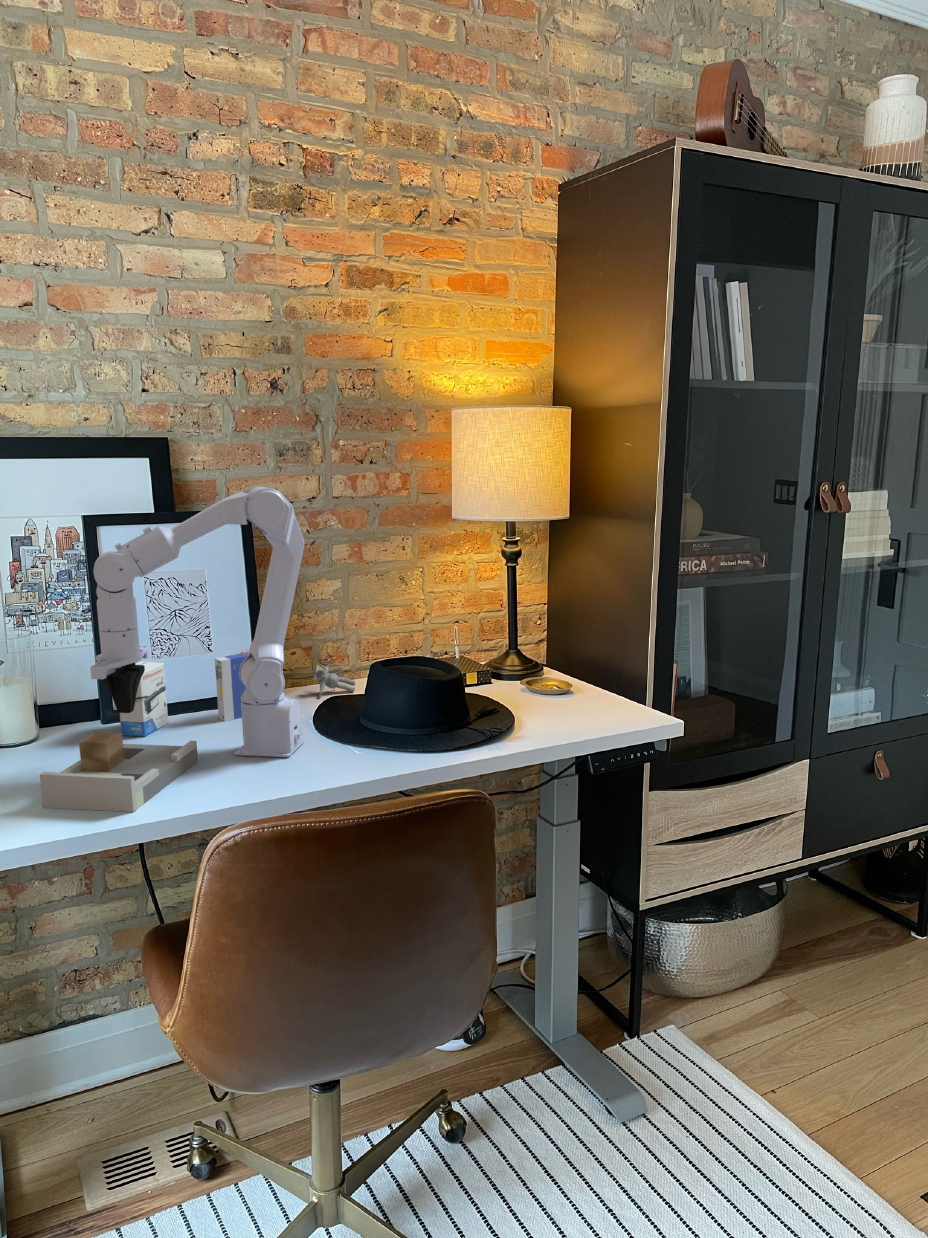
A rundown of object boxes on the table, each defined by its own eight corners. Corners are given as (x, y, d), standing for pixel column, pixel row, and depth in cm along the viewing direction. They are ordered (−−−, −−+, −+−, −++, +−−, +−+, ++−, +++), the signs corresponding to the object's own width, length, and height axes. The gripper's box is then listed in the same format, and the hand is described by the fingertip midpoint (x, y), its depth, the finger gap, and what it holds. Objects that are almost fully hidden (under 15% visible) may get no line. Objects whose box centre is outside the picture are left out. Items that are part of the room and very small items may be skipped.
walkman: (253, 709, 179) (250, 649, 177) (261, 712, 177) (257, 652, 175) (216, 718, 174) (212, 656, 172) (224, 721, 172) (220, 659, 170)
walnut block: (124, 761, 144) (122, 733, 143) (108, 771, 140) (106, 743, 139) (98, 759, 145) (95, 732, 144) (81, 769, 141) (78, 741, 140)
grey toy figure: (355, 700, 186) (312, 687, 184) (346, 714, 190) (304, 702, 188) (362, 660, 192) (321, 647, 190) (354, 675, 197) (313, 663, 195)
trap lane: (197, 761, 151) (195, 732, 150) (133, 812, 131) (130, 778, 130) (118, 757, 153) (115, 729, 152) (43, 807, 133) (39, 774, 132)
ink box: (145, 737, 164) (139, 673, 161) (120, 736, 165) (114, 672, 162) (169, 723, 172) (165, 661, 170) (145, 721, 173) (140, 660, 171)
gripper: (118, 619, 152) (125, 698, 155) (68, 637, 138) (77, 724, 141) (158, 619, 151) (165, 699, 154) (112, 638, 137) (120, 726, 140)
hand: (125, 711), depth 147 cm, fingers closed
